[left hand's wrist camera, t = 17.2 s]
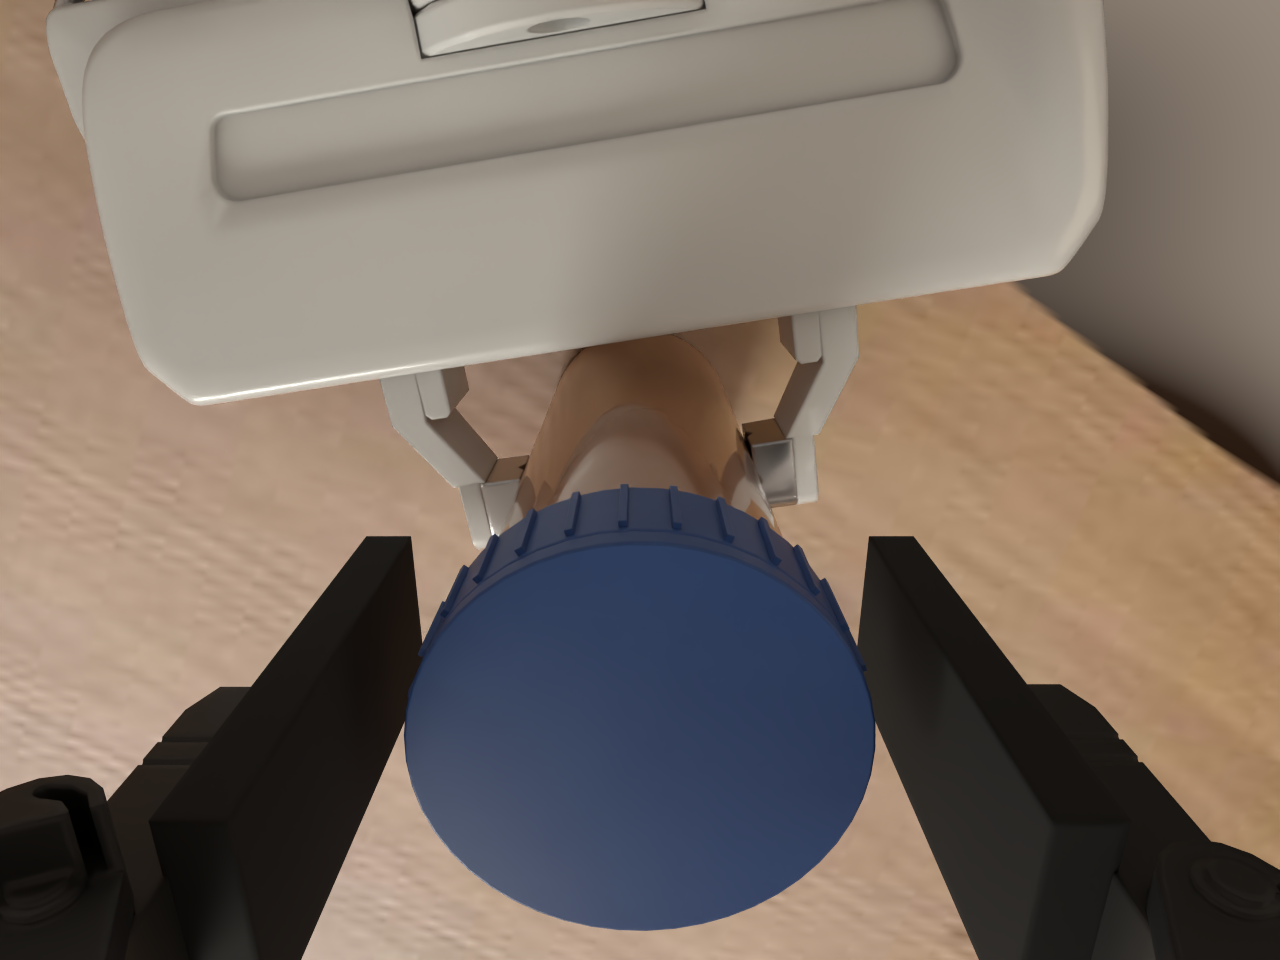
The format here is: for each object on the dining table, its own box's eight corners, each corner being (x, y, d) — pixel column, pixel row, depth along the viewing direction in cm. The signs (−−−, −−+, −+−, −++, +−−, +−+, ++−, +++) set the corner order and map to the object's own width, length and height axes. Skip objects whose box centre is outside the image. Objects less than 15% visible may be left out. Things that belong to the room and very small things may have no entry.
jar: (727, 493, 26) (832, 876, 12) (560, 499, 27) (462, 887, 12) (726, 325, 25) (851, 536, 10) (546, 332, 25) (411, 553, 10)
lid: (715, 396, 11) (730, 438, 9) (917, 730, 13) (962, 818, 11) (346, 615, 12) (296, 690, 10) (581, 892, 14) (572, 994, 12)
